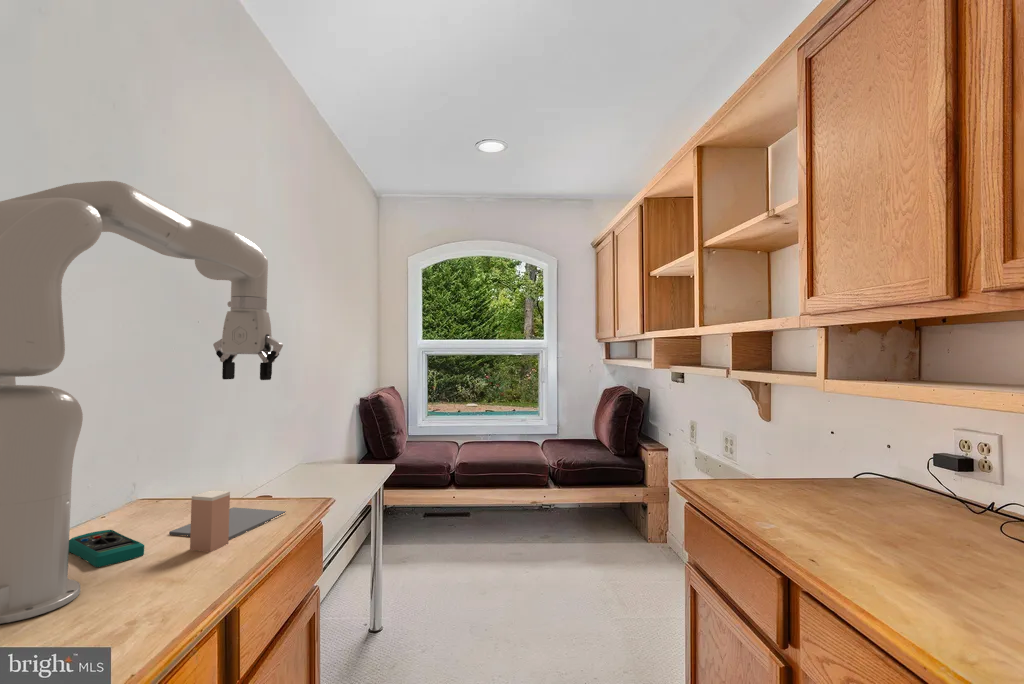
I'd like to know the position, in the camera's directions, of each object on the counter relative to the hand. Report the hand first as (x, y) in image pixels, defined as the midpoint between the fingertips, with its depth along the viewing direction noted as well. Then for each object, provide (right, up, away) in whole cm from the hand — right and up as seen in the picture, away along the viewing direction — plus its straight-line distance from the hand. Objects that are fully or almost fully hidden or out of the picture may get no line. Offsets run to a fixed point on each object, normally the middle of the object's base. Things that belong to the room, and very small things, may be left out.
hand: (246, 379), depth 120 cm
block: (+4, -30, -21) cm, 37 cm away
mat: (0, -31, -7) cm, 32 cm away
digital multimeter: (-13, -31, -25) cm, 42 cm away
